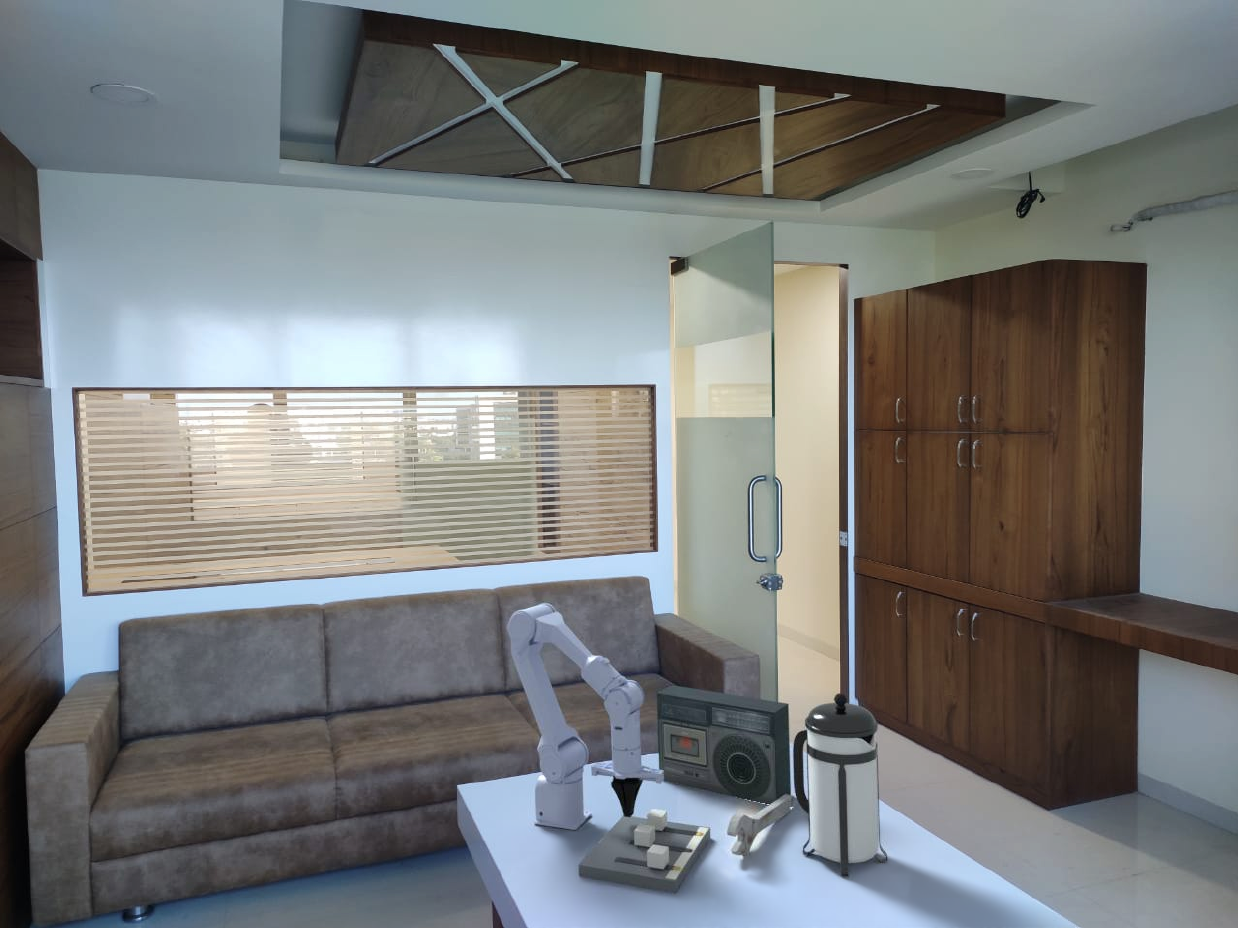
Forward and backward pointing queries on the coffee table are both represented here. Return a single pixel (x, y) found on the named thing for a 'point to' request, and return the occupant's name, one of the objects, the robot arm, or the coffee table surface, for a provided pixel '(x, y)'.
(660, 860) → the switch tab
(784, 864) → the coffee table surface
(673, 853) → the switch board
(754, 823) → the wrench
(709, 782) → the cassette player
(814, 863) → the coffee table surface
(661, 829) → the switch tab
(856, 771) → the coffee press
